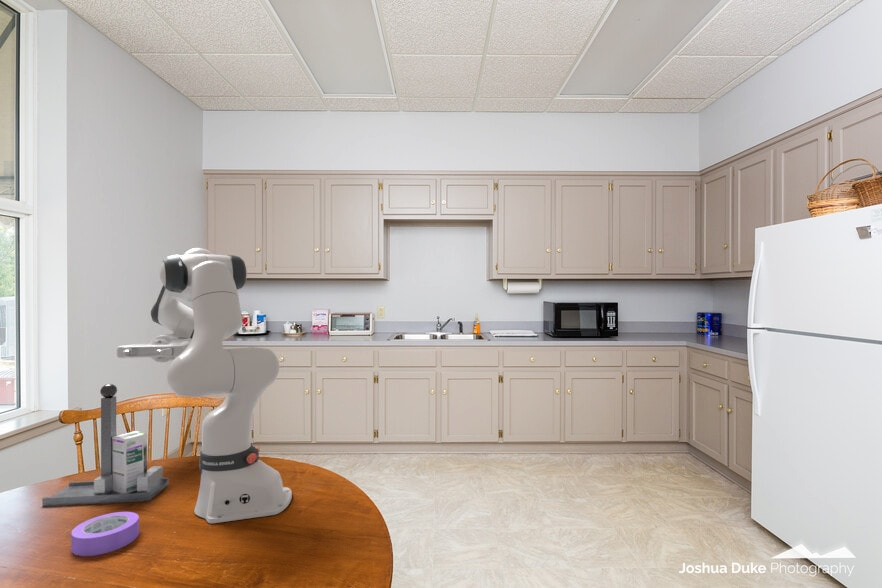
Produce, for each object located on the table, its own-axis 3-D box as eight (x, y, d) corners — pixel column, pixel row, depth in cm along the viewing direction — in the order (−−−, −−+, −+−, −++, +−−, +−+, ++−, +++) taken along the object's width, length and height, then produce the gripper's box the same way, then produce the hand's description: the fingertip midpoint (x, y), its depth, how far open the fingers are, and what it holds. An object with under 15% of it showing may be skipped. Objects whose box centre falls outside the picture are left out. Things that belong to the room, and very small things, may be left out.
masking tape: (72, 539, 99) (72, 521, 99) (136, 522, 106) (136, 506, 106) (70, 564, 90) (70, 544, 90) (141, 544, 97) (141, 526, 97)
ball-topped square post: (124, 483, 125) (124, 381, 125) (106, 496, 117) (106, 386, 117) (110, 484, 124) (110, 381, 124) (91, 497, 116) (91, 387, 116)
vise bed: (168, 484, 127) (168, 464, 127) (149, 501, 117) (149, 478, 117) (70, 489, 124) (70, 468, 124) (42, 506, 114) (42, 483, 114)
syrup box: (124, 495, 117) (125, 439, 117) (111, 491, 120) (111, 435, 120) (147, 487, 122) (147, 432, 122) (134, 482, 125) (134, 429, 125)
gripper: (130, 339, 150) (104, 343, 136) (196, 338, 152) (177, 342, 138) (130, 358, 150) (104, 364, 136) (196, 357, 152) (178, 363, 138)
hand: (142, 353), depth 137 cm, fingers open, 8 cm apart
